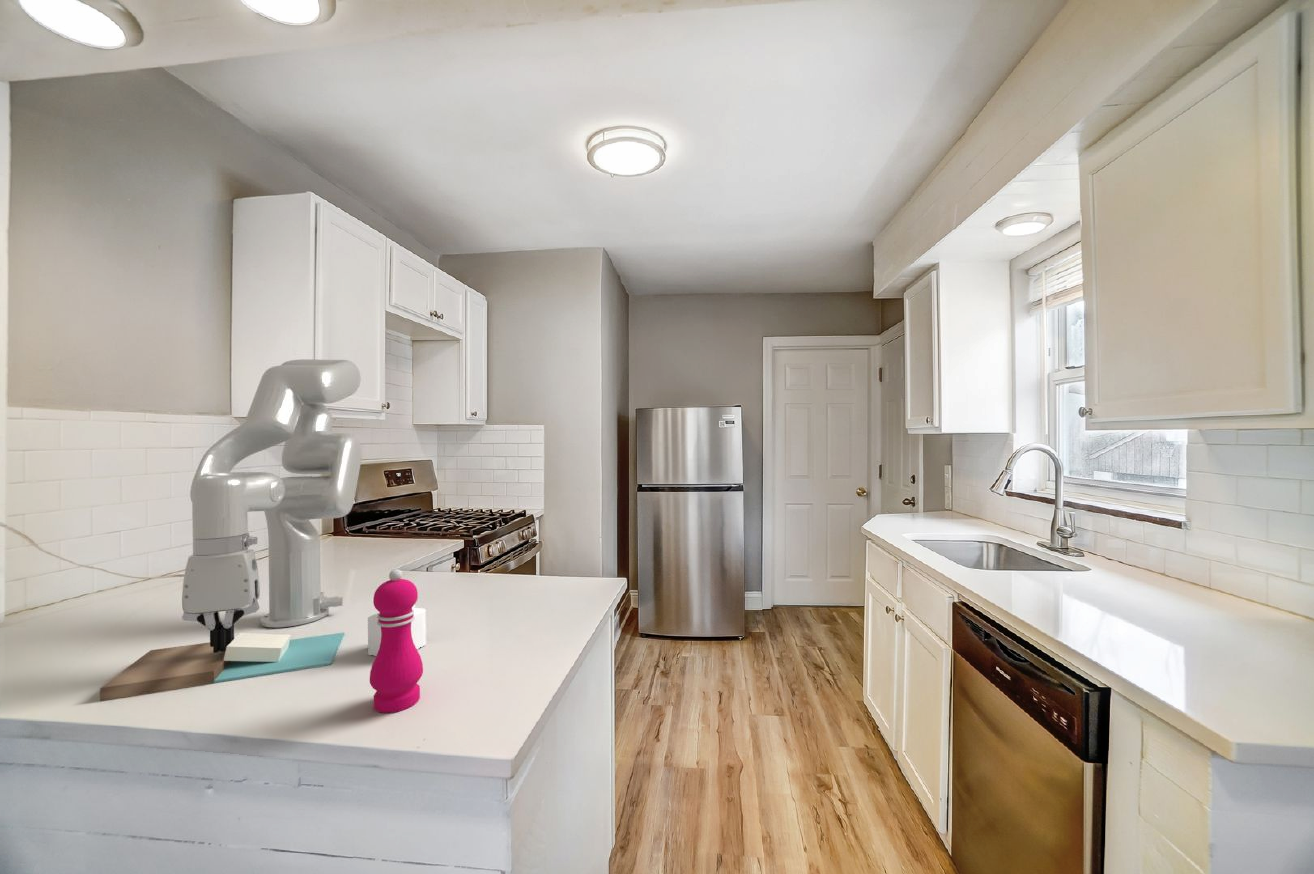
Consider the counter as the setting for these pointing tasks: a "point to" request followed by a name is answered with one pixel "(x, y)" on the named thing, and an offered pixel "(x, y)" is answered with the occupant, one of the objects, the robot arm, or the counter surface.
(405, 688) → the pepper mill
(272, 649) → the block
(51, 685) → the counter surface
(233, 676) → the mat
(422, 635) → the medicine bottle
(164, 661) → the board
